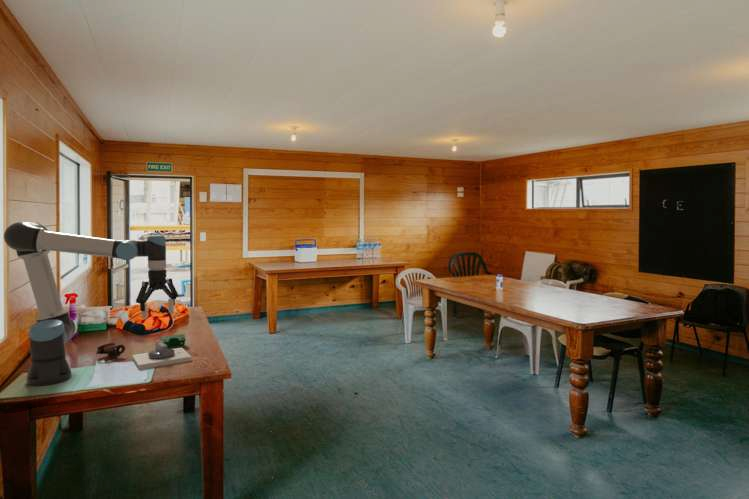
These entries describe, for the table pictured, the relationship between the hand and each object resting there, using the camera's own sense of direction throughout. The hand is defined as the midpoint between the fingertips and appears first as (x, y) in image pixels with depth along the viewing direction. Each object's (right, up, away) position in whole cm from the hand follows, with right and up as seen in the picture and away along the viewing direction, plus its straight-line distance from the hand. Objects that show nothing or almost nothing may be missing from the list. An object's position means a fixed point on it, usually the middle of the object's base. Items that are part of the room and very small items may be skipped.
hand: (158, 315), depth 220 cm
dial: (+1, -19, +2) cm, 19 cm away
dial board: (+1, -21, +2) cm, 21 cm away
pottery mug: (-24, -21, +5) cm, 32 cm away
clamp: (-2, -20, +22) cm, 30 cm away
